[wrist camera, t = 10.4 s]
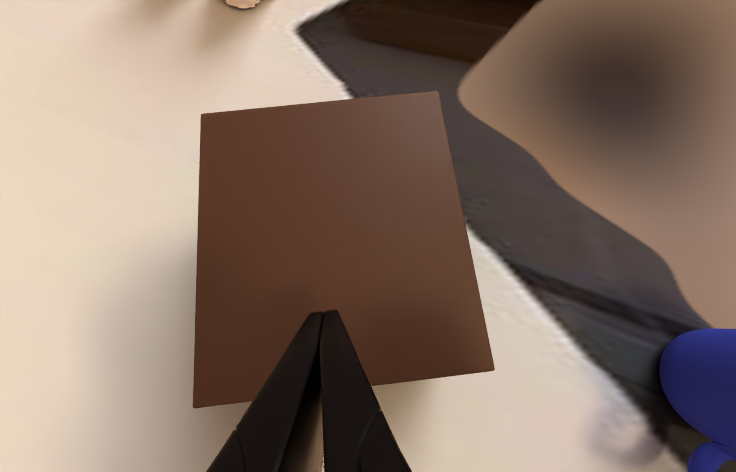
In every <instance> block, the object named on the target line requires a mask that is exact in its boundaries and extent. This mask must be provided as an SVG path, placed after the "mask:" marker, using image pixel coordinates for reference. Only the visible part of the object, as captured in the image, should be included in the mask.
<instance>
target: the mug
mask: <svg viewBox="0 0 736 472" xmlns="http://www.w3.org/2000/svg"><path fill="white" fill-rule="evenodd" d="M659 371H660V380H661V384H662V388H663V390H664V393H665V395H666V397H667V399H668V401H669V402H670V404H671V405H672V407H673V408H674V409H675V411H676V412H677V413H678V414H679V415H680V416H681V417H682V418H683V419H684V420H685V421H686V422H687V423H688V424H690V425H691V426H692V427H693V428H695V429H696V430H697V431H699V432H700V433H702V434H703V435H705V436H706V437H708V438H710V439H711V440H712V441H713V442H707V443H703V444H701V445H699V446H698V447H697V448H696V449H695V450H694V451H693V453H692V454H691V456H690V458H689V461H688V468H687V471H688V472H717V470H718V468H719V467H720V466H721V465H722V464H723V463H724V462H726V461H729V460H736V329H700V330H694V331H689V332H686V333H683V334H681V335H679V336H677V337H676V338H674V339H673V340H672V341H671V342H670V343H669V344H668V345H667V347H666V348H665V349H664V351H663V354H662V356H661V360H660V366H659Z"/></svg>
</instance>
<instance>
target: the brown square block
mask: <svg viewBox="0 0 736 472" xmlns="http://www.w3.org/2000/svg"><path fill="white" fill-rule="evenodd" d="M335 309H336V310H338V312H339V314H340V316H341V318H342V321H343V323H344V325H345V328H346V330H347V332H348V334H349V337H350V339H351V341H352V344H353V346H354V348H355V350H356V353H357V355H358V357H359V360H360V362H361V364H362V366H363V369H364V371H365V373H366V376H367V378H368V380H369V382H370V385H371V386H377V385H385V384H392V383H400V382H408V381H416V380H424V379H432V378H440V377H448V376H456V375H464V374H472V373H480V372H488V371H493V370H494V369H495V368H494V363H493V358H492V353H491V349H490V344H489V339H488V334H487V329H486V324H485V319H484V314H483V309H482V304H481V299H480V294H479V289H478V284H477V279H476V275H475V270H474V265H473V260H472V255H471V250H470V245H469V240H468V235H467V230H466V225H465V220H464V215H463V210H462V205H461V201H460V196H459V191H458V186H457V181H456V176H455V171H454V166H453V161H452V156H451V151H450V146H449V141H448V136H447V131H446V127H445V122H444V117H443V112H442V107H441V102H440V97H439V92H438V91H430V92H419V93H409V94H399V95H389V96H379V97H369V98H358V99H348V100H338V101H328V102H318V103H308V104H297V105H287V106H277V107H267V108H257V109H247V110H236V111H226V112H216V113H206V114H201V133H200V169H199V205H198V242H197V278H196V314H195V351H194V387H193V408H202V407H210V406H218V405H226V404H234V403H242V402H250V401H253V400H254V398H255V397H256V395H257V394H258V392H259V390H260V389H261V387H262V386H263V384H264V383H265V381H266V380H267V378H268V377H269V375H270V373H271V372H272V370H273V369H274V367H275V366H276V364H277V363H278V361H279V360H280V358H281V356H282V355H283V353H284V352H285V350H286V349H287V347H288V346H289V344H290V343H291V341H292V339H293V338H294V336H295V335H296V333H297V332H298V330H299V329H300V327H301V326H302V324H303V322H304V321H305V319H306V318H307V316H308V315H309V314H310V313H311V312H318V311H323V312H325V311H327V310H335Z"/></svg>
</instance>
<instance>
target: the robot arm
mask: <svg viewBox="0 0 736 472" xmlns="http://www.w3.org/2000/svg"><path fill="white" fill-rule="evenodd" d="M323 451H324V471H325V472H412V471H411V469H410V467H409V465H408V463H407V462H406V460H405V458H404V456H403V454H402V453H401V451H400V449H399V447H398V445H397V443H396V440H395V438H394V436H393V434H392V432H391V430H390V428H389V426H388V423H387V421H386V419H385V416H384V414H383V412H382V411H381V408H380V405H379V403H378V401H377V398H376V396H375V394H374V392H373V389H372V387H371V385H370V382H369V380H368V378H367V376H366V373H365V371H364V369H363V366H362V364H361V362H360V360H359V357H358V355H357V353H356V350H355V348H354V346H353V344H352V341H351V339H350V337H349V334H348V332H347V330H346V328H345V325H344V323H343V321H342V318H341V316H340V314H339V312H338V310H336V309H335V310H327V311H325V312H323V311H318V312H311V313H310V314H309V315H308V316H307V318H306V319H305V321H304V322H303V324H302V326H301V327H300V329H299V330H298V332H297V333H296V335H295V336H294V338H293V339H292V341H291V343H290V344H289V346H288V347H287V349H286V350H285V352H284V353H283V355H282V356H281V358H280V360H279V361H278V363H277V364H276V366H275V367H274V369H273V370H272V372H271V373H270V375H269V377H268V378H267V380H266V381H265V383H264V384H263V386H262V387H261V389H260V390H259V392H258V394H257V395H256V397H255V398H254V400H253V401H252V403H251V404H250V406H249V407H248V409H247V411H246V412H245V414H244V415H243V417H242V418H241V420H240V421H239V423H238V424H237V426H236V430H234V431H233V432H232V433H231V435H230V437H229V438H228V440H227V441H226V443H225V444H224V446H223V447H222V449H221V450H220V452H219V453H218V455H217V456H216V458H215V459H214V461H213V462H212V464H211V465H210V467H209V468H208V470H207V471H206V472H321V471H322V461H323Z"/></svg>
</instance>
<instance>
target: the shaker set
mask: <svg viewBox="0 0 736 472" xmlns="http://www.w3.org/2000/svg"><path fill="white" fill-rule="evenodd" d="M258 2H260V0H226V3H227V4H229V5H233V6H236V7H239V8H248V7H250V8H251V7H253V8H254V7H255V3H258Z"/></svg>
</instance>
